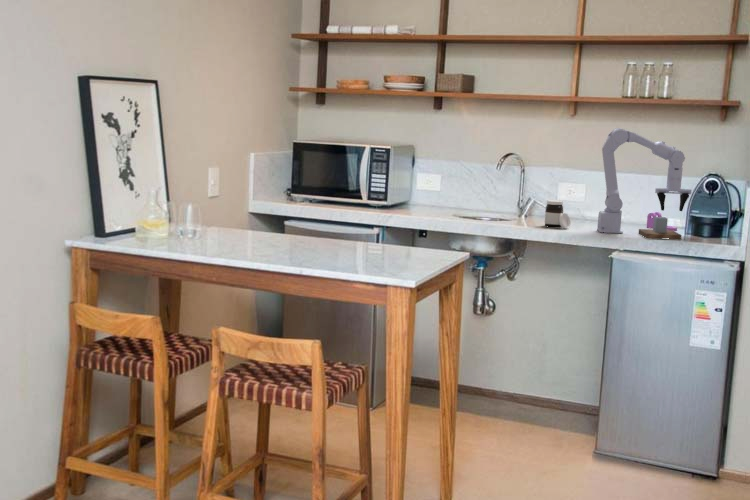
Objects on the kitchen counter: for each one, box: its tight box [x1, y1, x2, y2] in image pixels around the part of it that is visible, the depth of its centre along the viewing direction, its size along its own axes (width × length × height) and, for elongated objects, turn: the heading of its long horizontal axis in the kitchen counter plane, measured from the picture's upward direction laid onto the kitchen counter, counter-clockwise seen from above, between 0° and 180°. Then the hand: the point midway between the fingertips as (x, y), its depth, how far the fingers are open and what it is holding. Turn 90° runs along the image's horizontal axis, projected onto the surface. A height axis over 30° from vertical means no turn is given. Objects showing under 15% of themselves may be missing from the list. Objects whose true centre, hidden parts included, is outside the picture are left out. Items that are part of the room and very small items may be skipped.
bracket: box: [646, 211, 678, 232], centre depth 379 cm, size 13×6×7 cm, turn 41°
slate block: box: [652, 216, 669, 233], centre depth 355 cm, size 4×4×6 cm
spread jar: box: [544, 199, 572, 230], centre depth 374 cm, size 12×11×12 cm
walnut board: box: [638, 228, 682, 240], centre depth 355 cm, size 14×14×2 cm
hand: (671, 210), depth 360 cm, fingers open, 7 cm apart
